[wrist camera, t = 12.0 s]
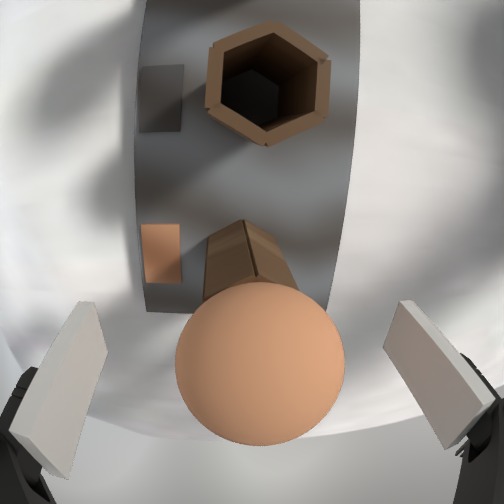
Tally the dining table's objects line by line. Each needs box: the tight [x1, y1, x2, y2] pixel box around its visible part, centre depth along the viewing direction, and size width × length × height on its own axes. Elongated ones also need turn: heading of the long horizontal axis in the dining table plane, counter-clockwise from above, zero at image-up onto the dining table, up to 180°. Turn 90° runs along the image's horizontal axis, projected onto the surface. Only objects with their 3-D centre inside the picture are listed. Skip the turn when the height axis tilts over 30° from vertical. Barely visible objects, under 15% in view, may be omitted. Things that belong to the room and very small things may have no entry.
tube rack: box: [134, 0, 360, 313], centre depth 12 cm, size 28×13×8 cm, turn 177°
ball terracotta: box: [175, 282, 345, 446], centre depth 10 cm, size 6×6×6 cm
